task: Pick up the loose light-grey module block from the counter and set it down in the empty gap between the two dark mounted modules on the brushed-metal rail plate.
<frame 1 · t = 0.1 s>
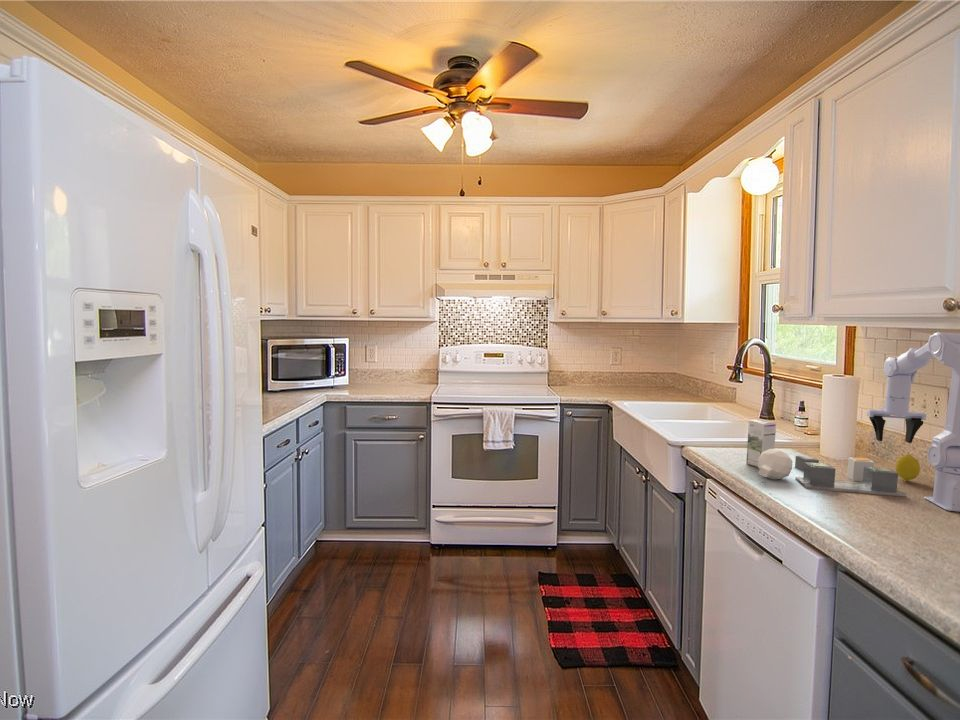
hand: (893, 441, 160), 10 cm above the countertop, fingers open, 7 cm apart
syrup box: (759, 466, 167), on the countertop
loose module: (859, 479, 154), on the countertop
relay block: (806, 470, 163), on the countertop
lemon: (906, 481, 153), on the countertop
beige faceted rounded lump: (770, 479, 153), on the countertop
rail: (848, 487, 146), on the countertop
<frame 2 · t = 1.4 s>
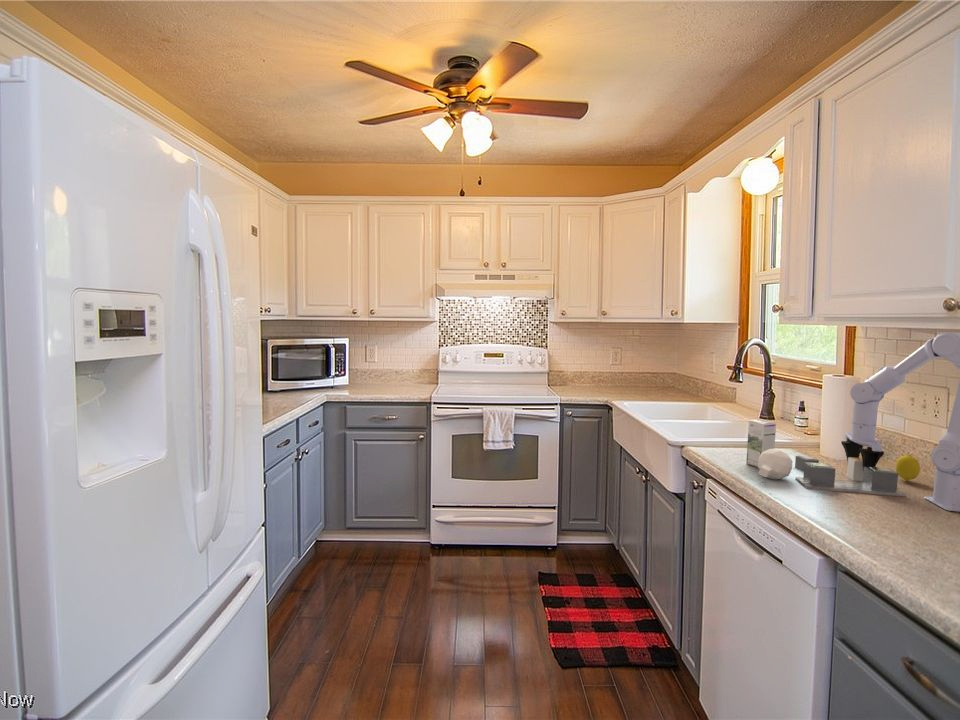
hand: (859, 469, 154), 3 cm above the countertop, fingers open, 7 cm apart
nothing on the countertop moved.
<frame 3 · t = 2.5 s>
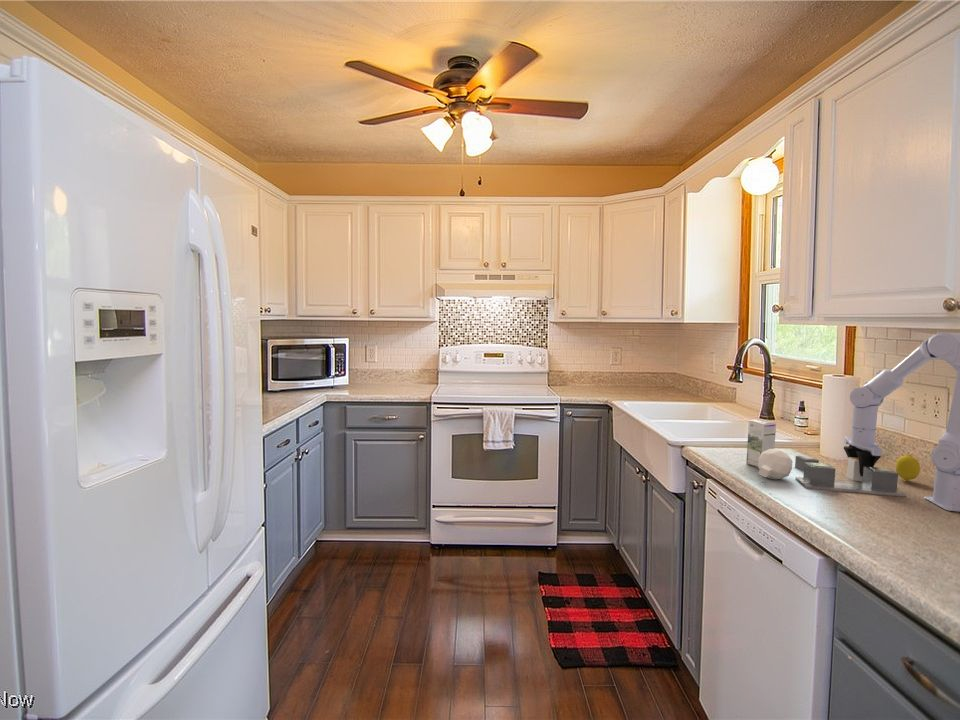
hand: (859, 473, 154), 2 cm above the countertop, fingers closed on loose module, 4 cm apart
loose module: (859, 479, 154), on the countertop, touching gripper
everything else where it was.
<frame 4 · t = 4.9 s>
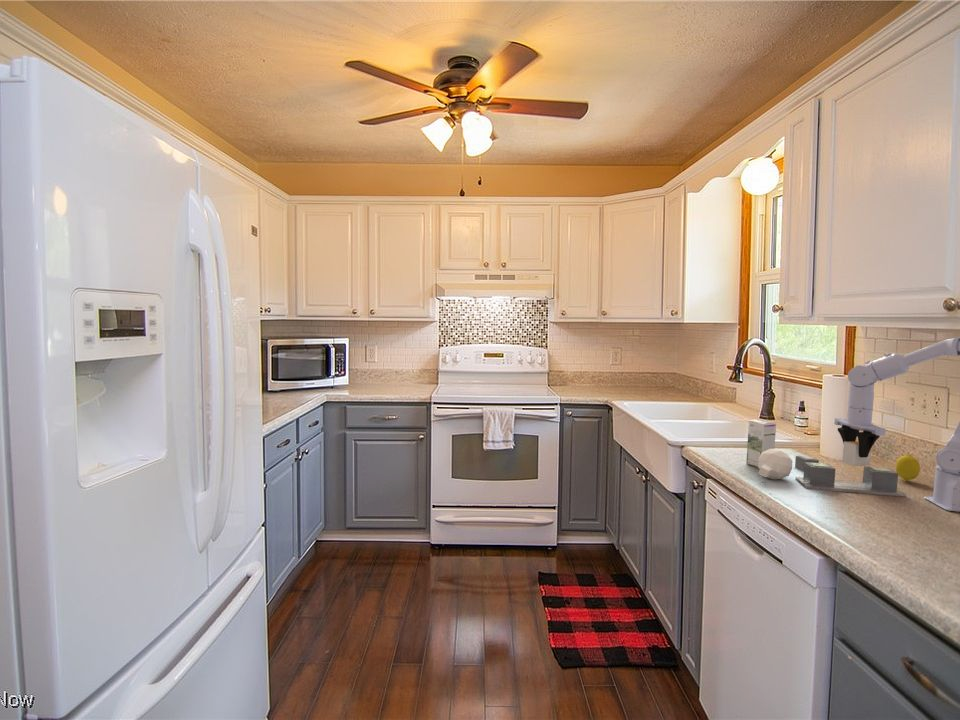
hand: (856, 454, 149), 8 cm above the countertop, fingers closed on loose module, 4 cm apart
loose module: (855, 463, 150), point 6 cm above the countertop, touching gripper
everything else where it was.
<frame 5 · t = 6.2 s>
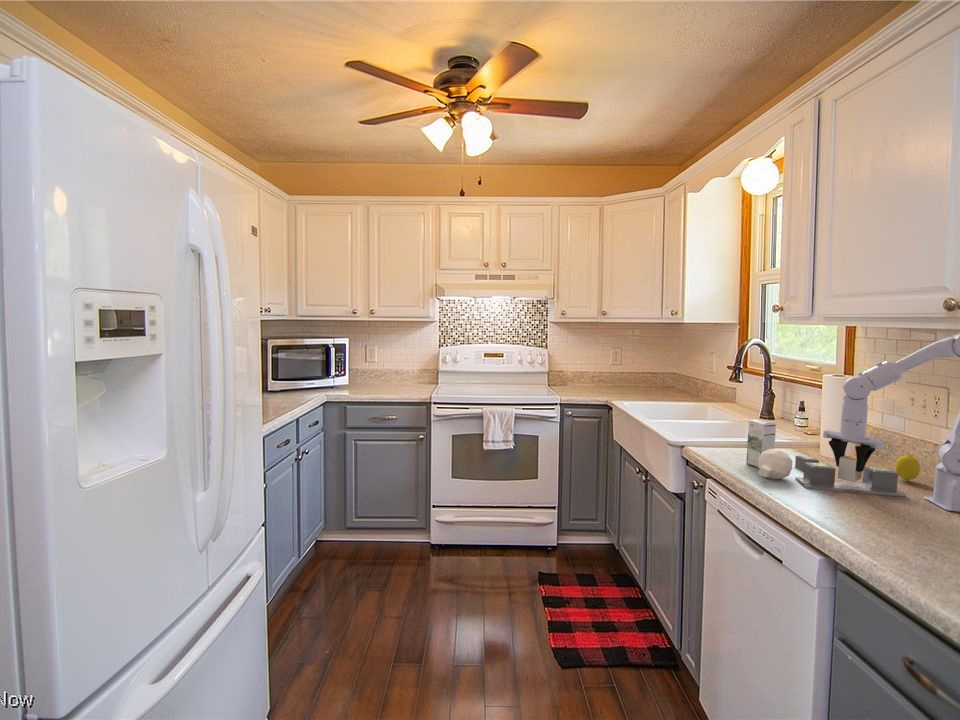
hand: (849, 468, 146), 5 cm above the countertop, fingers closed on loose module, 5 cm apart
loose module: (849, 478, 147), point 3 cm above the countertop, touching gripper
everything else where it was.
when the fingers open (4 cm above the countertop, at t = 7.4 s): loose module stays where it is, resting on rail.
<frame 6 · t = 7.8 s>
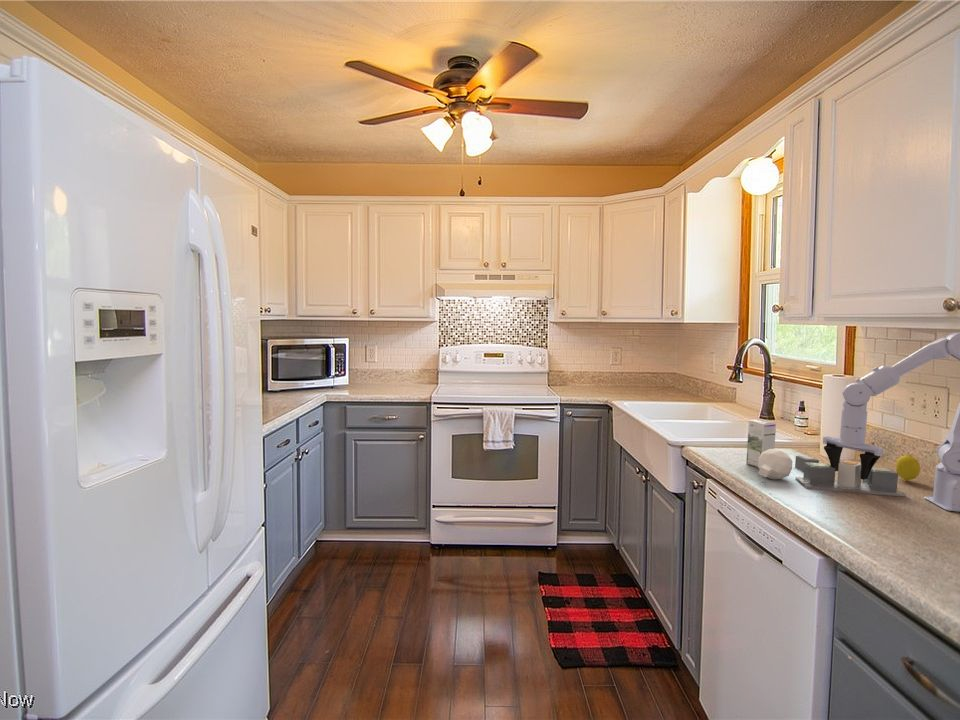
hand: (849, 474, 146), 4 cm above the countertop, fingers open, 7 cm apart
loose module: (848, 484, 147), point 1 cm above the countertop, touching rail
everything else where it was.
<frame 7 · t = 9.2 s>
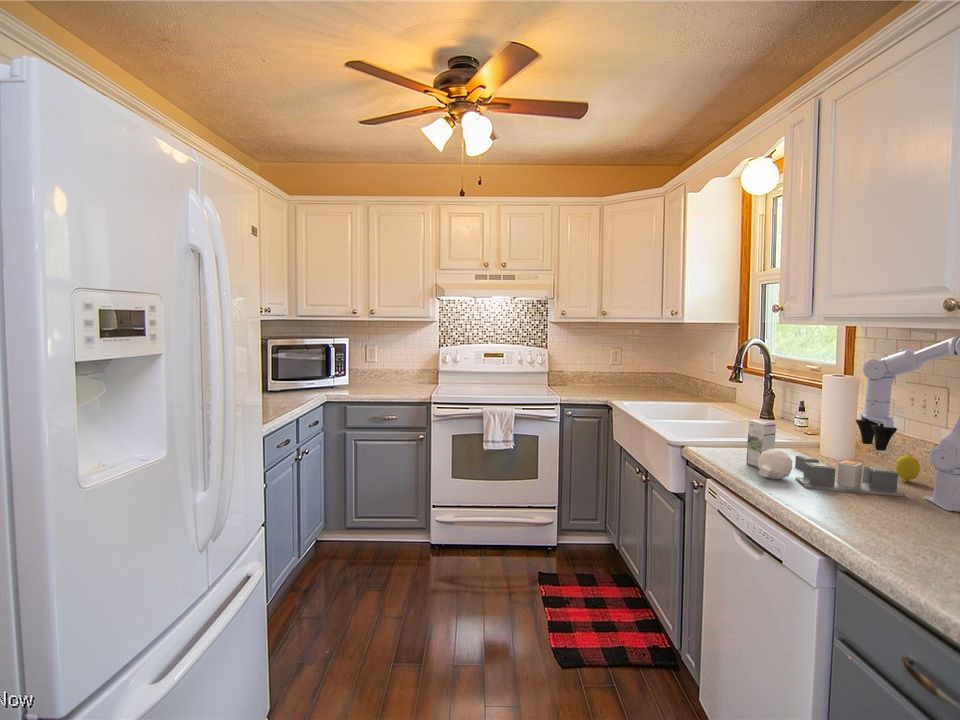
hand: (873, 447, 153), 10 cm above the countertop, fingers open, 7 cm apart
nothing on the countertop moved.
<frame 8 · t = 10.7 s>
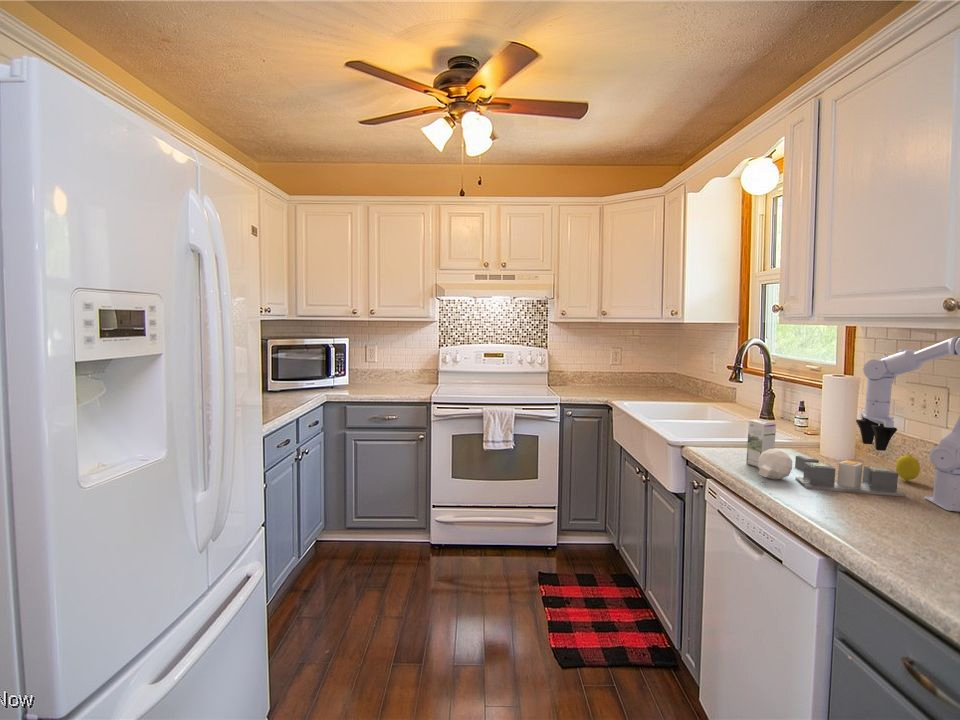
hand: (873, 447, 153), 10 cm above the countertop, fingers open, 7 cm apart
nothing on the countertop moved.
at the end: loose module 1.0 cm off-centre on the rail, point 0.8 cm above the rail's base; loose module tilted 0°; the gripper is holding nothing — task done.
